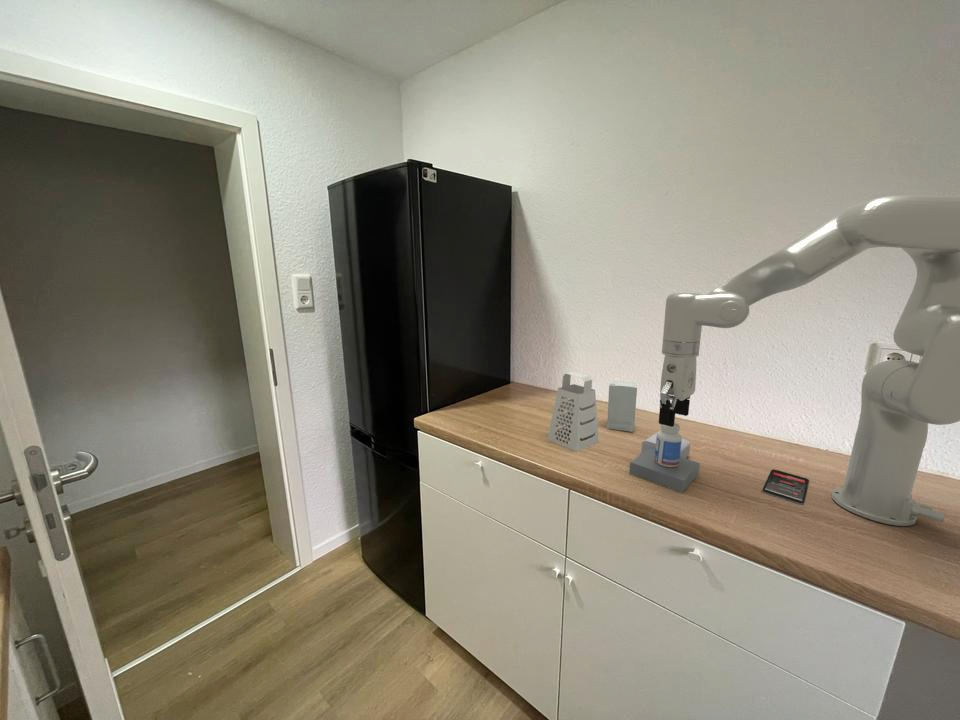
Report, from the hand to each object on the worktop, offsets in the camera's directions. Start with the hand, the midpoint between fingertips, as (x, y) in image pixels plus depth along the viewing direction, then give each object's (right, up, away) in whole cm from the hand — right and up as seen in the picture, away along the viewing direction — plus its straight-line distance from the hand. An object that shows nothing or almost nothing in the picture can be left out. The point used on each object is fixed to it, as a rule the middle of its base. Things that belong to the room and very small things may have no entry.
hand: (673, 419), depth 90 cm
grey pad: (-1, -14, +3) cm, 14 cm away
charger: (+6, -12, +15) cm, 20 cm away
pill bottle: (-1, -11, +3) cm, 11 cm away
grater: (-19, -10, +22) cm, 30 cm away
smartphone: (+25, -16, -1) cm, 30 cm away
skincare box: (-1, -8, +32) cm, 33 cm away
